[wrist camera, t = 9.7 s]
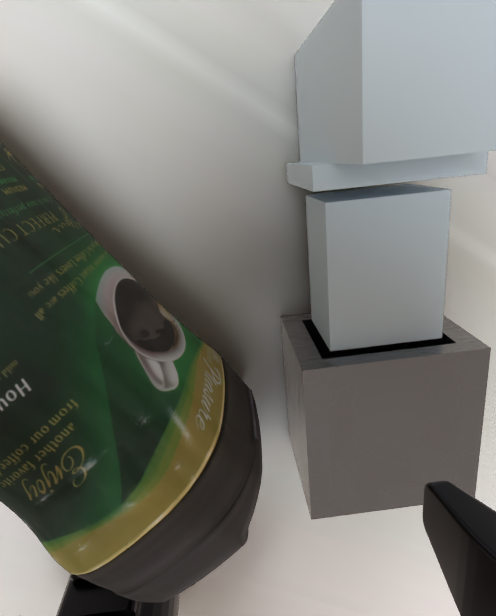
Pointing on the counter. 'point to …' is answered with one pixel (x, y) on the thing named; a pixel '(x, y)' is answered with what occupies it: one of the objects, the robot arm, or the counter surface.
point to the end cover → (389, 157)
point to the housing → (382, 417)
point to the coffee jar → (113, 412)
